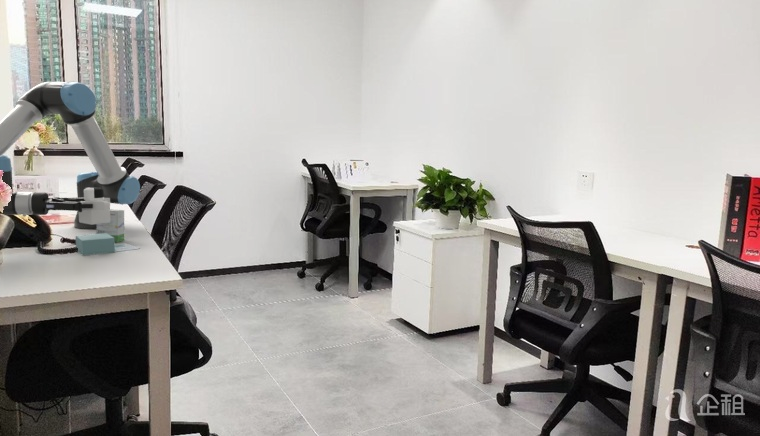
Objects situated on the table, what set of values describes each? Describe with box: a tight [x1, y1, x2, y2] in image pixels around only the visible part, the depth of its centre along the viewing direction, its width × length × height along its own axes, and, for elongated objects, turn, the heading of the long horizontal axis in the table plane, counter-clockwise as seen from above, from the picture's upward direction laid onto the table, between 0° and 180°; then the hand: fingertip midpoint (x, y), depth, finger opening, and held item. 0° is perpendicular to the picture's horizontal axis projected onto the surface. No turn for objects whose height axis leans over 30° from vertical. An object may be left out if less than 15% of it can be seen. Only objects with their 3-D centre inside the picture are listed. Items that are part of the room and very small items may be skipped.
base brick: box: [75, 233, 116, 256], centre depth 195 cm, size 10×10×5 cm
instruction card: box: [114, 242, 141, 252], centre depth 202 cm, size 12×8×1 cm, turn 47°
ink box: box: [96, 208, 125, 243], centre depth 212 cm, size 9×5×12 cm, turn 84°
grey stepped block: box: [79, 187, 111, 225], centre depth 192 cm, size 7×7×12 cm
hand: (107, 203), depth 194 cm, fingers closed on grey stepped block, 10 cm apart
